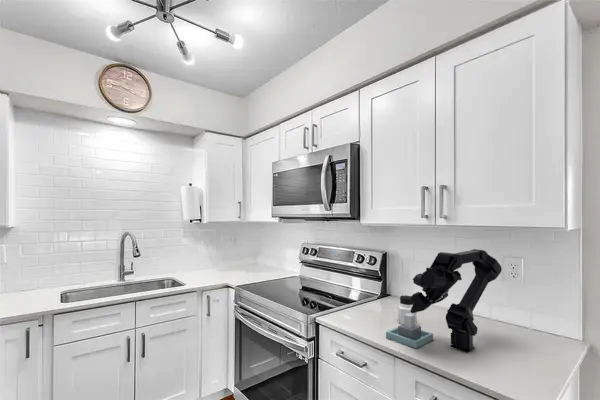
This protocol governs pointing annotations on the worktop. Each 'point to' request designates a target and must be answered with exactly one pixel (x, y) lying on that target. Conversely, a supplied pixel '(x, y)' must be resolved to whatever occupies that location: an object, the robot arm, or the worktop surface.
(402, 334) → the grey tabbed block
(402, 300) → the medicine bottle
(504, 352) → the worktop surface
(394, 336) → the tray
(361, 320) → the worktop surface
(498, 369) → the worktop surface
